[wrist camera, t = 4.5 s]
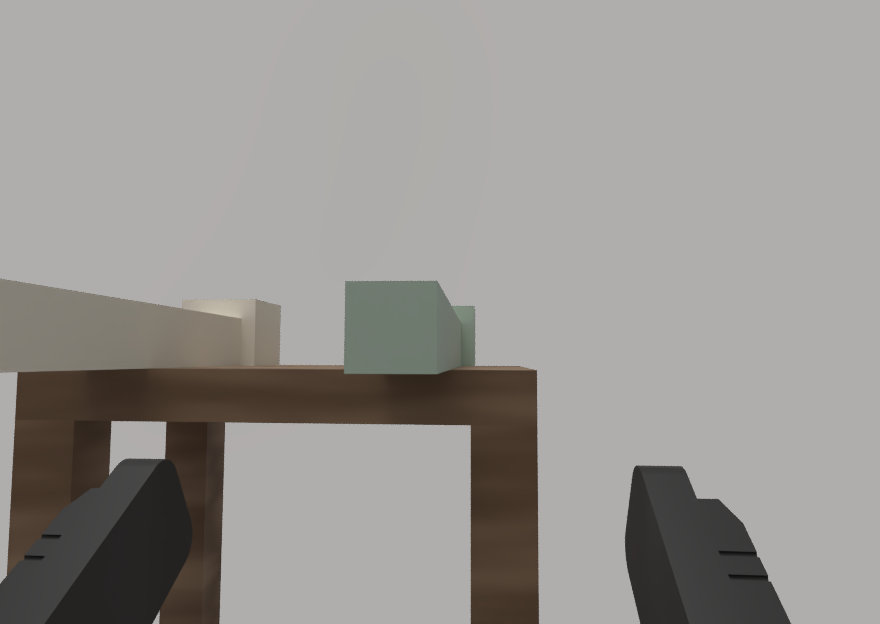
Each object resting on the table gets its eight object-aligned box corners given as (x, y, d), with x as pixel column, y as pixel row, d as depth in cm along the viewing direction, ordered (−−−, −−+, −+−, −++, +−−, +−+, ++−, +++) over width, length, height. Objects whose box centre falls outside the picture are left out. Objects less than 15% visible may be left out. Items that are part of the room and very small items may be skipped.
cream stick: (-102, 376, 13) (-91, 210, 13) (-276, 375, 13) (-262, 213, 14) (279, 365, 37) (280, 305, 37) (213, 365, 37) (214, 306, 38)
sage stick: (464, 374, 17) (464, 244, 17) (316, 373, 17) (318, 245, 17) (475, 365, 41) (475, 311, 41) (413, 365, 41) (413, 311, 41)
